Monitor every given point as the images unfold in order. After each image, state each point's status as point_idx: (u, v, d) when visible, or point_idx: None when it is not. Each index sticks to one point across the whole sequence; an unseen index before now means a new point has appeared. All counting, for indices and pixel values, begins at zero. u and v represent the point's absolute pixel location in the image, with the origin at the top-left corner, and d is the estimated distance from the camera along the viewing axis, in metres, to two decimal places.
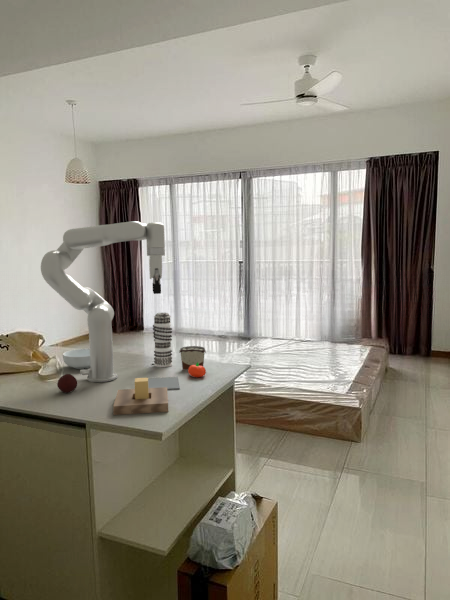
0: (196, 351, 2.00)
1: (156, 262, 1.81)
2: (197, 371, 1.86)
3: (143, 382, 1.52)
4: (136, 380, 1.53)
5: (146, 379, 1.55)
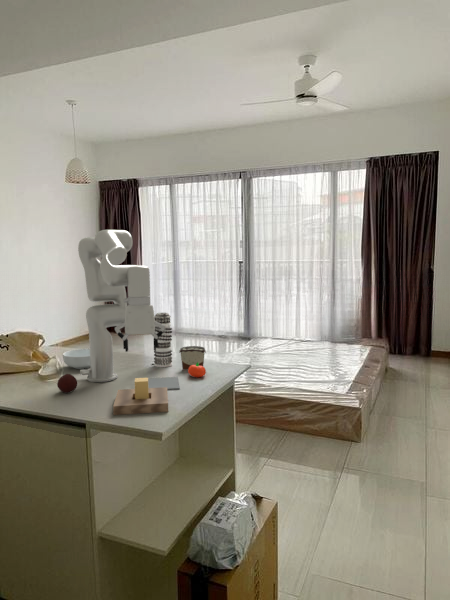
0: (196, 351, 2.00)
1: None
2: (197, 371, 1.86)
3: (143, 382, 1.52)
4: (136, 380, 1.53)
5: (146, 379, 1.55)
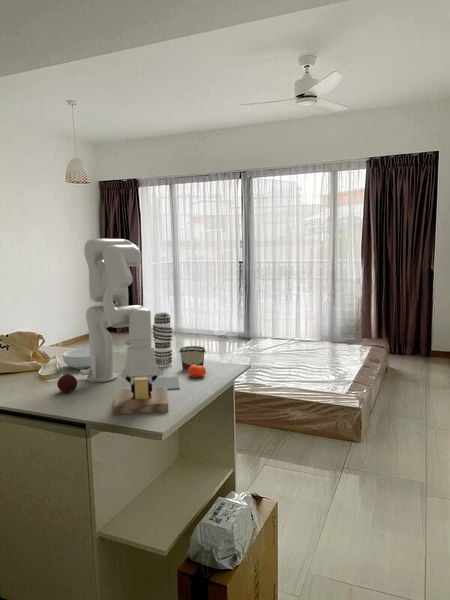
0: (196, 351, 2.00)
1: None
2: (197, 371, 1.86)
3: (143, 382, 1.52)
4: (136, 380, 1.53)
5: (146, 379, 1.55)
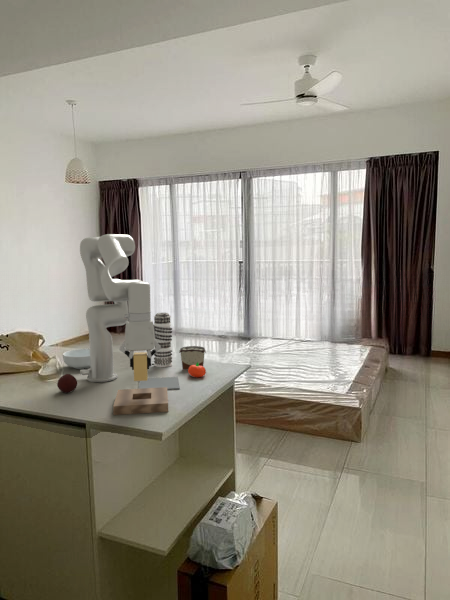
0: (196, 351, 2.00)
1: None
2: (197, 371, 1.86)
3: (142, 356, 1.52)
4: (135, 354, 1.53)
5: (145, 353, 1.54)
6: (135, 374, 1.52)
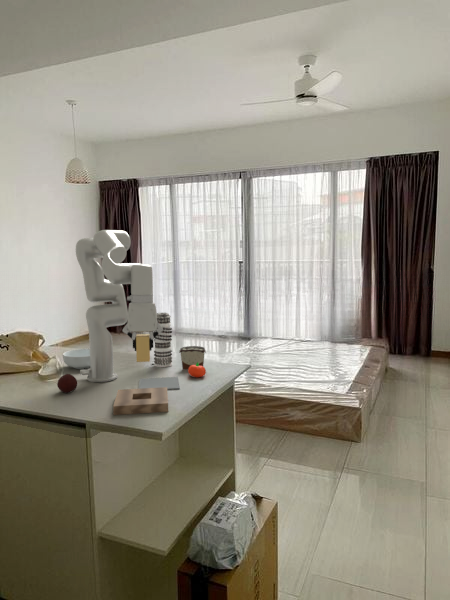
0: (196, 351, 2.00)
1: None
2: (197, 371, 1.86)
3: (144, 337, 1.54)
4: (138, 336, 1.56)
5: (147, 335, 1.57)
6: (138, 355, 1.55)
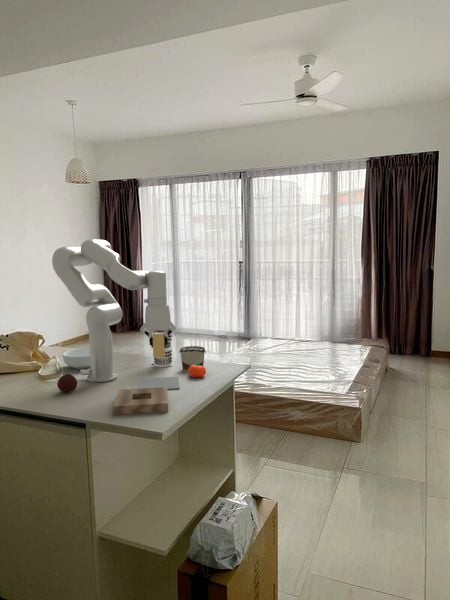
0: (196, 351, 2.00)
1: None
2: (197, 371, 1.86)
3: (159, 335, 1.75)
4: (154, 334, 1.76)
5: (162, 333, 1.77)
6: (154, 351, 1.75)
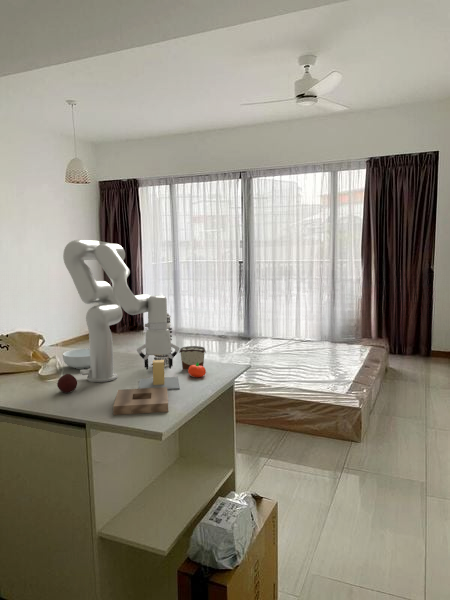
0: (196, 351, 2.00)
1: None
2: (197, 371, 1.86)
3: (160, 363, 1.76)
4: (154, 362, 1.77)
5: (162, 361, 1.78)
6: (154, 379, 1.76)
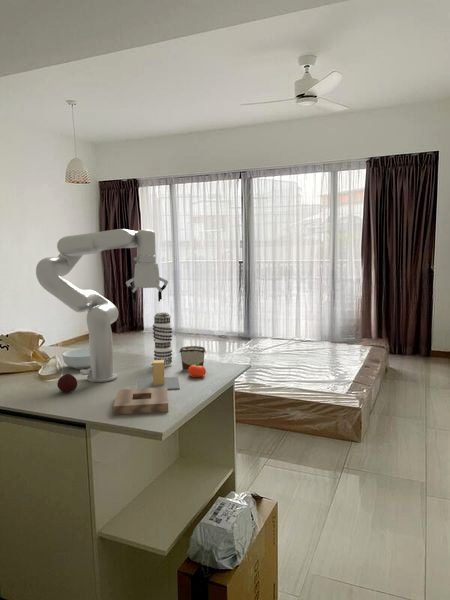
0: (196, 351, 2.00)
1: None
2: (197, 371, 1.86)
3: (160, 363, 1.76)
4: (154, 362, 1.77)
5: (162, 361, 1.78)
6: (154, 379, 1.76)
